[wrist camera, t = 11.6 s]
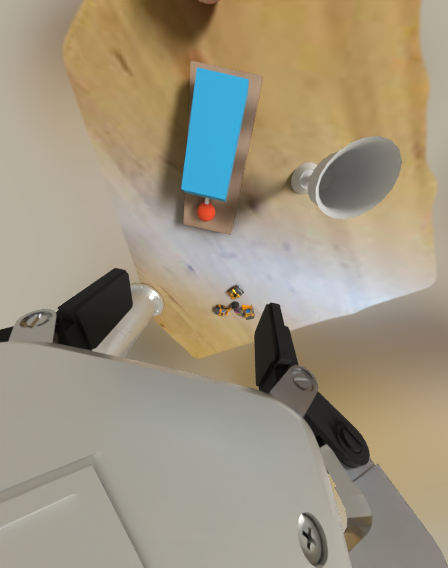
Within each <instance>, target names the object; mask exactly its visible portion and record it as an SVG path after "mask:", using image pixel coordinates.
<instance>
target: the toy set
mask: <svg viewBox="0 0 448 568" xmlns="http://www.w3.org/2000/svg"><path fill="white" fill-rule="evenodd" d="M229 291H230V292H227V294H229V295H230V297H231V299H236V298H238V297H240V296H241V295H242V294H243V293H244V292H243V291H242V290H241V289H240V288H239V287H238V286H237V285H236V286H235V287H234V289H233V288H232V289H231V290H229ZM239 306H240V305H239V303H238V302H236V301H234V302H232V308H233V309H234V312H235V313H236V314H237V315H242V314H244V317H245V318H246V320H249V319H253V318H254V315H255V314H254V311H253V308H252V305H251V306H247V305H242V309H243V312H242V310H241V309H240V308H239ZM221 307H223V308H221ZM246 309H248V310H246ZM230 310H231V308H228V309H227V308H226V306H223V305H222V306H221V305H220V304H218V305H217V308H216V309H215V314H217V315H218V316H224V315H228V314H227V313H226V311H227V312H228V311H230Z"/></svg>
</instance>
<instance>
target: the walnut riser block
mask: <svg viewBox="0 0 448 568" xmlns="http://www.w3.org/2000/svg"><path fill="white" fill-rule="evenodd" d="M197 67H199V68H203V69H207V70H212V71H216V72H220V73H224V74H229V75H233V76H237V77H241V78H246V79H249V86H248V96H247V101H246V105H245V110H244V115H243V120H242V125H241V130H240V135H239V140H238V144H237V149H236V154H235V159H234V164H233V169H232V174H231V179H230V184H229V188H228V193H227V198H226V202H223V201H219V200H214V199H210V201H209V203H211V204H212V205H213V206H214V208H215V216H214V218H213V219H212V220H211V221H208V222H205V221H202V220H201V219H200V218H199V217H198V214H197V209H198V206H199V205H200V204H201V203H203V202H205V198H206V197H201V196H197V195H193V194H189V193H186V192H185V200H184V222H183V224H184V225H189V226H193V227H198V228H203V229H207V230H212V231H216V232H221V233H225V234H230V235H231V232H232V228H233V223H234V218H235V214H236V209H237V204H238V199H239V194H240V189H241V184H242V179H243V175H244V170H245V165H246V160H247V155H248V150H249V145H250V140H251V136H252V131H253V126H254V121H255V116H256V111H257V106H258V101H259V97H260V92H261V86H262V78H263V76H260V75H255V74H251V73H246V72H241V71H237V70H232V69H227V68H222V67H218V66H213V65H208V64H204V63H199V62H194V61H191V68H190V90H189V112H188V132H189V125H190V117H191V109H192V101H193V94H194V86H195V78H196V70H197ZM187 140H188V134H187Z"/></svg>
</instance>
